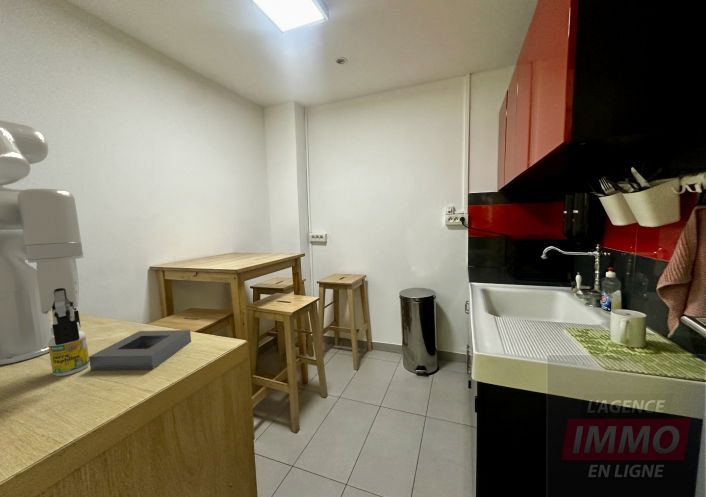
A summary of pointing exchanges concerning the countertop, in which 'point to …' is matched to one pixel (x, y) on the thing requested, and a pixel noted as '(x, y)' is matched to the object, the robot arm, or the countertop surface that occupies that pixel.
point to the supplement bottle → (69, 355)
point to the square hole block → (140, 350)
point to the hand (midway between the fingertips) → (69, 335)
